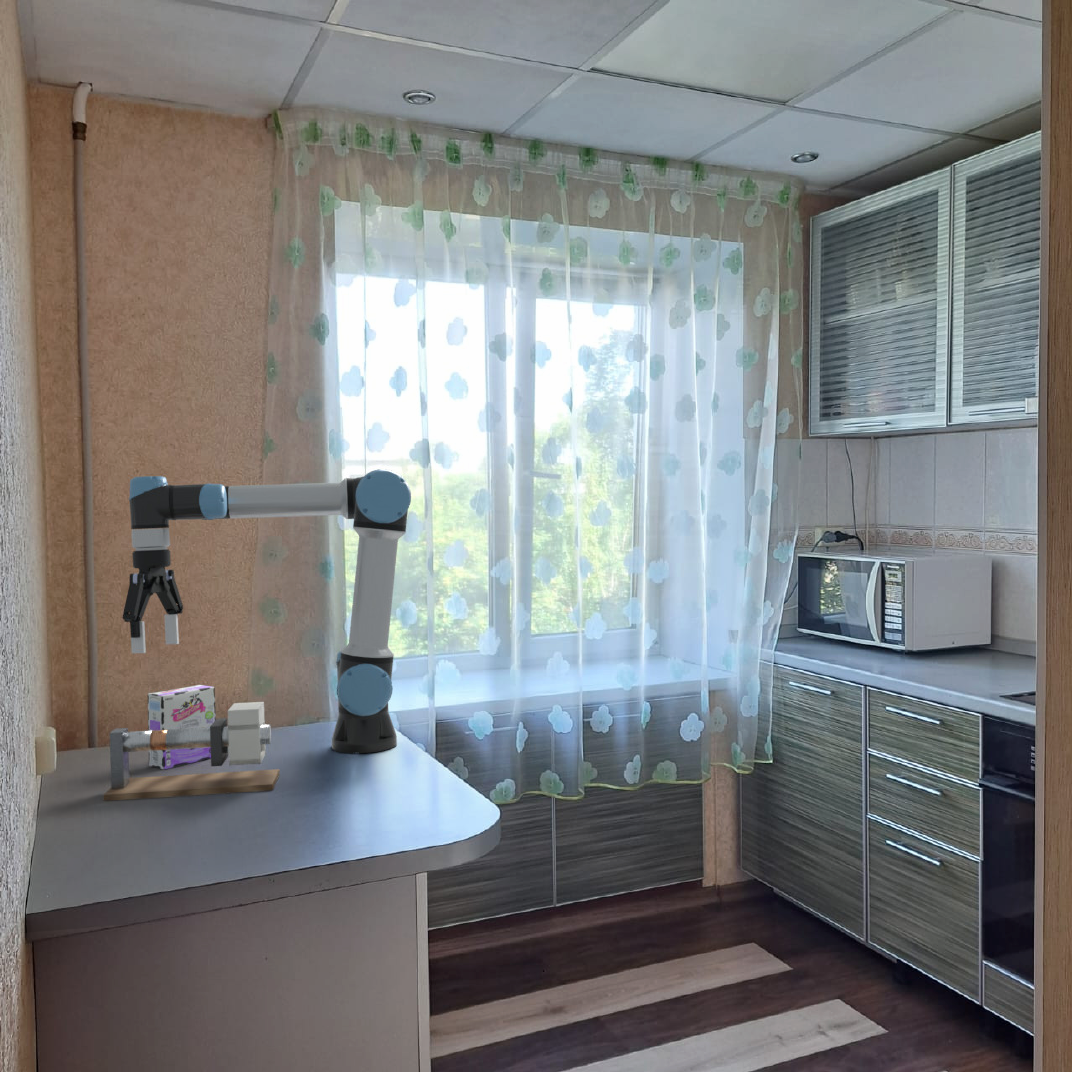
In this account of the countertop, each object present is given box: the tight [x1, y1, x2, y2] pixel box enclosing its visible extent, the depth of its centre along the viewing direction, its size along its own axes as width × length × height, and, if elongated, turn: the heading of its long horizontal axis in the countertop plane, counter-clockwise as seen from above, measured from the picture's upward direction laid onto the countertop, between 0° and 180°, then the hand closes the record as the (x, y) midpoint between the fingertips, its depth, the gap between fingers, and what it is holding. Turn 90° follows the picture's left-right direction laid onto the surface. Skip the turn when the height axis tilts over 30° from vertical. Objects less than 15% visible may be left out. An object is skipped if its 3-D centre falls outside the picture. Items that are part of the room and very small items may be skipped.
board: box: [102, 768, 280, 802], centre depth 198 cm, size 32×12×1 cm, turn 98°
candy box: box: [147, 684, 217, 770], centre depth 219 cm, size 14×6×16 cm, turn 143°
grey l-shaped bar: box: [109, 723, 272, 789], centre depth 197 cm, size 31×4×11 cm, turn 98°
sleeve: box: [227, 701, 267, 766], centre depth 199 cm, size 6×8×11 cm
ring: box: [210, 717, 229, 767], centre depth 198 cm, size 2×8×8 cm, turn 8°
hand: (156, 648), depth 208 cm, fingers open, 13 cm apart
